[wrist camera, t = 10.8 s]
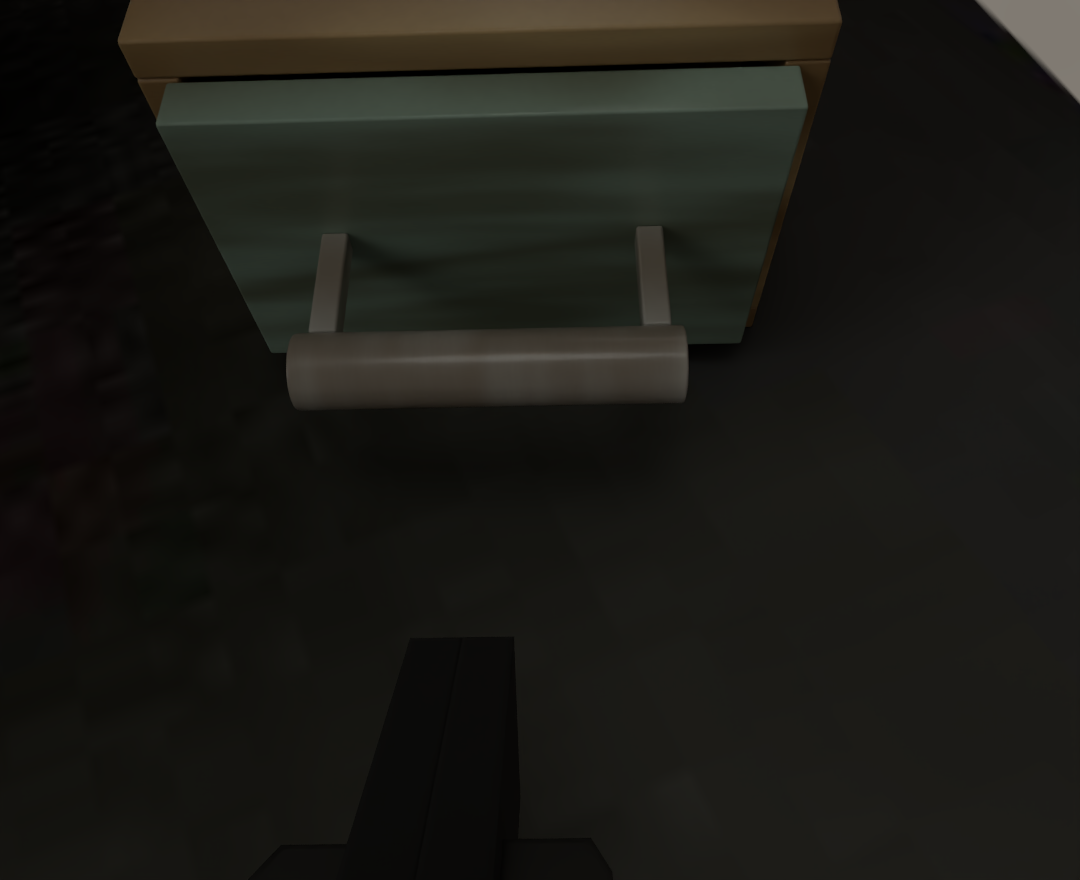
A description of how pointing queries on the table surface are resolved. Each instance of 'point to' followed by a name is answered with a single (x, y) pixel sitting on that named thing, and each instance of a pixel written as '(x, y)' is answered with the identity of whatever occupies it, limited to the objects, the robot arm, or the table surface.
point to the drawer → (491, 223)
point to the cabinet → (476, 42)
